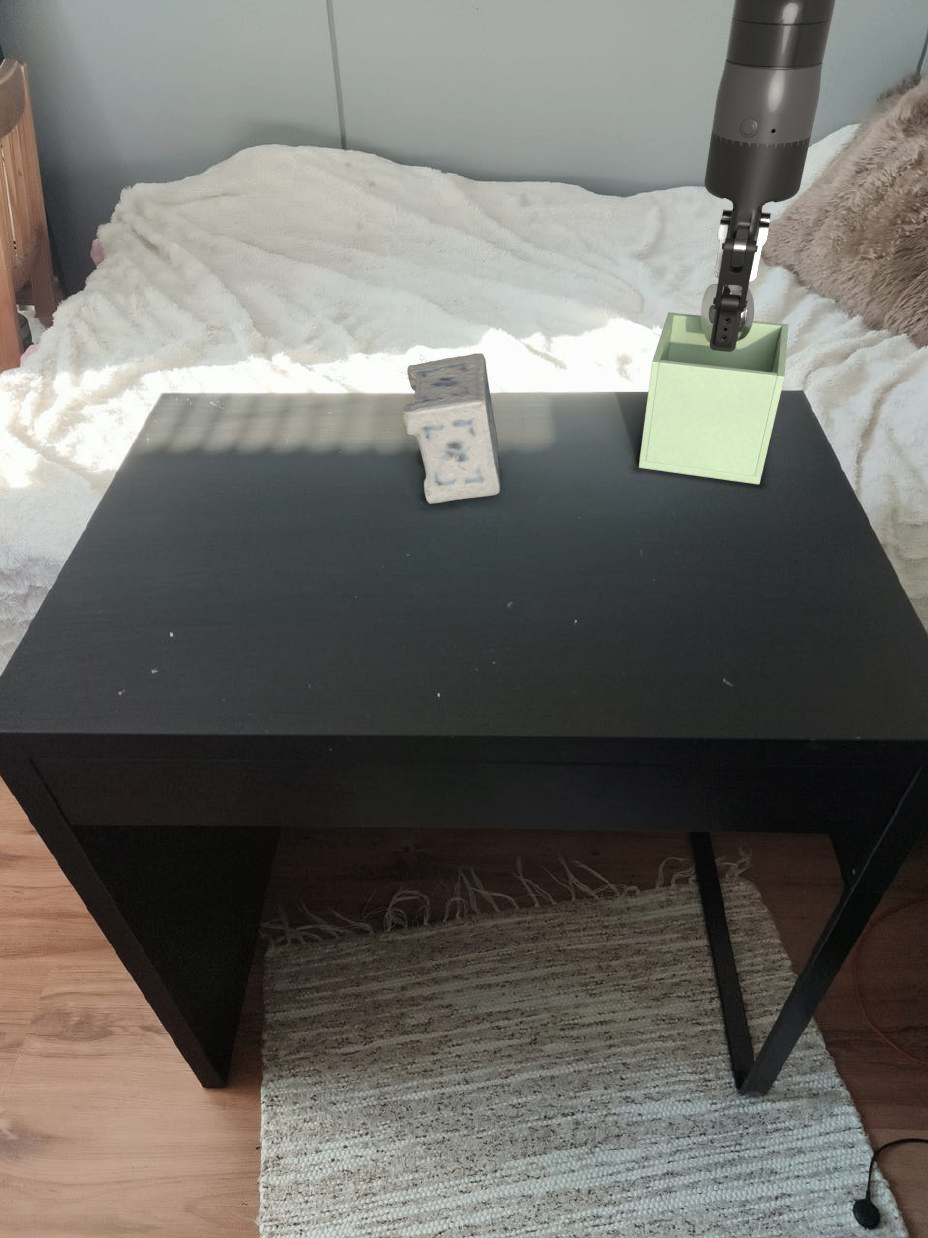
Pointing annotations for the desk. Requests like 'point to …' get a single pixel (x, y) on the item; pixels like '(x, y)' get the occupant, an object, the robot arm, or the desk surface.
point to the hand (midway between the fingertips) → (724, 334)
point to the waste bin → (713, 401)
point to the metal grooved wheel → (709, 310)
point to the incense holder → (454, 428)
